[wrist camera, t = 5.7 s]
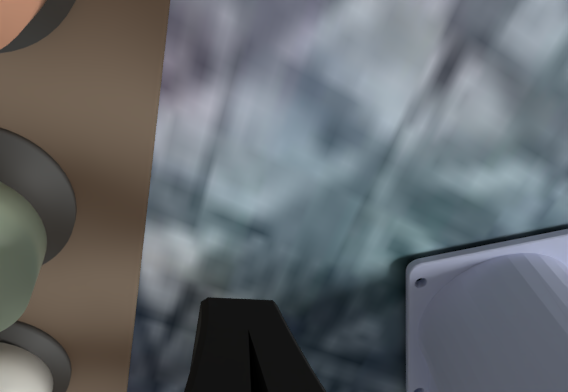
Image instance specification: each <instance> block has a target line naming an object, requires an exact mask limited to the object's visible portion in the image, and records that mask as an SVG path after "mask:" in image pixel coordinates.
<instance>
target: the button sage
mask: <svg viewBox="0 0 568 392" xmlns="http://www.w3.org/2000/svg"><path fill="white" fill-rule="evenodd" d="M46 249H47V235H46V231H45V227H44V225H43V222H42V220H41V218H40V216H39V215H38V213H37V212H36V210H35V209H34V208H33V206H32V205H31V204H30V203H29V202H28V201H27V200H26V199H25V198H24V197H23V196H22V195H20V194H19V193H18V192H16V191H15V190H14V189H12V188H11V187H9V186H7V185H6V184H4V183H2V182H0V332H1V331H3V330H5V329H7V328H8V327H9V326H11V325H12V324H14V323H15V322H16V321H17V320H18V319H19V318H20V317H21V315H22V314H23V313H24V311H25V310H26V307H27V305H28V303H29V301H30V298H31V295H32V292H33V289H34V286H35V283H36V280H37V277H38V274H39V272H40V269H41V266H42V263H43V260H44V257H45V253H46Z"/></svg>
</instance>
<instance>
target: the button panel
mask: <svg viewBox="0 0 568 392" xmlns="http://www.w3.org/2000/svg"><path fill="white" fill-rule="evenodd" d="M169 6H170V0H46V2H45V4H44V6H43V7H42V8H41V9H40V11H39V12H38V13H37V14H36V15H35V16H34V18H33V19H32V20H31V21H30V22H29V23H28V24H27V25H26V27H25V28H24V29H23V30H22V31H21V32H20V33H19V35H18V36H17V37H16V38H15V39H13V40H12V41H11V42H10V43H9V44H8V45H7V46H5V47H3V48H2V49H0V182H2V183H4V184H6V185H7V186H9V187H11V188H12V189H14V190H15V191H16V192H18V193H19V194H20V195H22V196H23V197H24V198H25V199H26V200H27V201H28V202H29V203H30V204H31V205H32V206H33V208H34V209H35V210H36V212H37V213H38V215H39V216H40V218H41V220H42V222H43V225H44V227H45V231H46V235H47V249H46V253H45V257H44V260H43V263H42V266H41V269H40V272H39V274H38V277H37V280H36V283H35V286H34V289H33V292H32V295H31V298H30V301H29V303H28V305H27V307H26V310H25V311H24V313H23V314H22V315H21V317H20V318H19V319H18V320H17V321H16V322H15V323H14V324H12V325H11V326H9V327H8V328H7V329H5V330H3V331H1V332H0V342H1V343H6V344H10V345H14V346H17V347H20V348H22V349H25V350H27V351H29V352H31V353H32V354H34V355H36V356H37V357H38V358H40V359H41V360H42V361H43V362H44V363H45V364H46V365H47V367H48V368H49V370H50V372H51V373H52V377H53V382H54V385H53V391H52V392H127V385H128V376H129V367H130V358H131V349H132V340H133V331H134V322H135V313H136V304H137V295H138V286H139V277H140V268H141V259H142V250H143V241H144V232H145V223H146V214H147V205H148V196H149V187H150V178H151V168H152V159H153V150H154V141H155V132H156V123H157V114H158V105H159V96H160V87H161V78H162V69H163V60H164V51H165V42H166V33H167V24H168V15H169Z"/></svg>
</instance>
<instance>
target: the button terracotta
mask: <svg viewBox="0 0 568 392" xmlns="http://www.w3.org/2000/svg"><path fill="white" fill-rule="evenodd" d="M45 2H46V0H0V49H2V48H3V47H5V46H7V45H8V44H9V43H10V42H11V41H12V40H13V39H15V38H16V37H17V36H18V35H19V33H20V32H21V31H22V30H23V29H24V28H25V27H26V25H27V24H28V23H29V22H30V21H31V20H32V19H33V18H34V16H35V15H36V14H37V13H38V12H39V11H40V9H41V8H42V7H43V6H44V4H45Z"/></svg>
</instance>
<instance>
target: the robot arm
mask: <svg viewBox="0 0 568 392" xmlns="http://www.w3.org/2000/svg"><path fill="white" fill-rule="evenodd" d="M420 278H422V279H421V280H419V281H416V280H418V279H420ZM184 392H326V391H325V389H324V387H323V386H322V384H321V383H320V381H319V380H318V378H317V376H316V375H315V373H314V372H313V370H312V368H311V367H310V365H309V363H308V362H307V360H306V358H305V356H304V355H303V353H302V351H301V349H300V348H299V346H298V344H297V342H296V341H295V339H294V337H293V335H292V333H291V331H290V330H289V328H288V326H287V324H286V322H285V320H284V318H283V316H282V314H281V312H280V310H279V308H278V306H277V305H276V304H275V302H274V301H273V300H253V299H231V298H209V297H208V298H206V299H205V300H203V301H202V302H201V305H200V312H199V318H198V324H197V331H196V337H195V343H194V349H193V356H192V362H191V368H190V374H189V377H188V381H187V384H186V388H185V391H184ZM406 392H568V229H564V230H559V231H554V232H549V233H544V234H539V235H534V236H529V237H524V238H519V239H514V240H509V241H504V242H499V243H494V244H489V245H484V246H479V247H474V248H469V249H464V250H459V251H454V252H449V253H444V254H439V255H434V256H429V257H424V258H419V259H415V260H413V261H412V262H410V263H409V264H408V266H407V268H406Z"/></svg>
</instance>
